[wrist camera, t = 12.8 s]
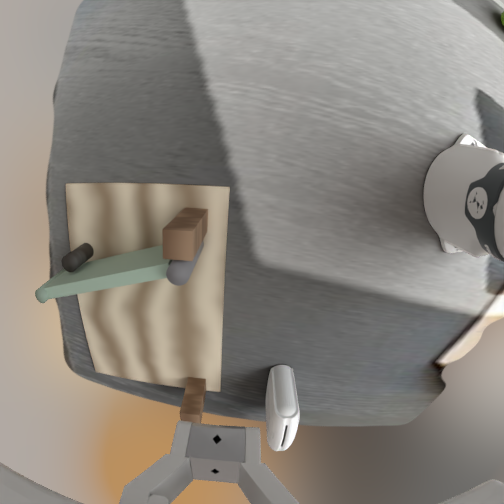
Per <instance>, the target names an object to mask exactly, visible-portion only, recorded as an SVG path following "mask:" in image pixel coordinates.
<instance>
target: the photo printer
mask: <svg viewBox="0 0 504 504" xmlns="http://www.w3.org/2000/svg"><path fill="white" fill-rule="evenodd" d="M265 404H266V424H267V442H268V445H269V446H270V448H271V449H273V450H275V451H279V450H280V451H284V450H286V449H287V448H288V447H289V446H290V445H291V444H292V442H293V440H294V438H295V435H296V432H297V428H298V423H299V405H298V399H297V392H296V386H295V380H294V374H293V369H292V368H290V367H289V366H287V365H277V366H274V367H273V368H271V370H270V373H269V378H268V384H267V390H266V400H265Z"/></svg>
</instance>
